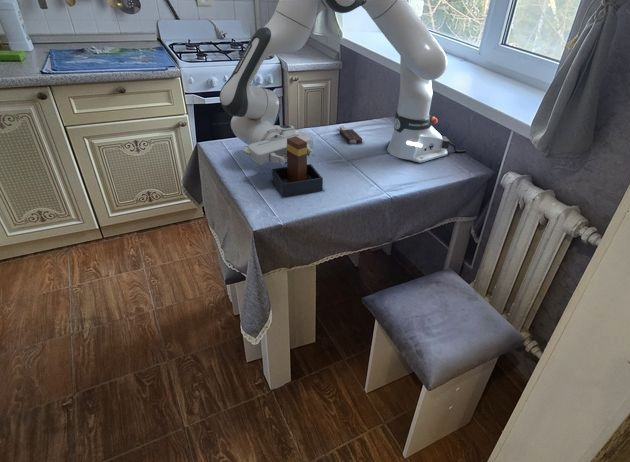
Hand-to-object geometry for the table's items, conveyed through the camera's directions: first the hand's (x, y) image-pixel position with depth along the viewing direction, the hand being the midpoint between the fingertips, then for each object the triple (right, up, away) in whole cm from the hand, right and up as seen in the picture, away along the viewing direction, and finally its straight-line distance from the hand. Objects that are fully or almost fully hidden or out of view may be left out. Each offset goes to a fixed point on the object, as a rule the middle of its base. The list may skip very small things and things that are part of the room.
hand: (298, 157), depth 123 cm
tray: (-1, -7, +6) cm, 10 cm away
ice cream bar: (+12, +15, +40) cm, 45 cm away
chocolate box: (-1, -7, +5) cm, 9 cm away
